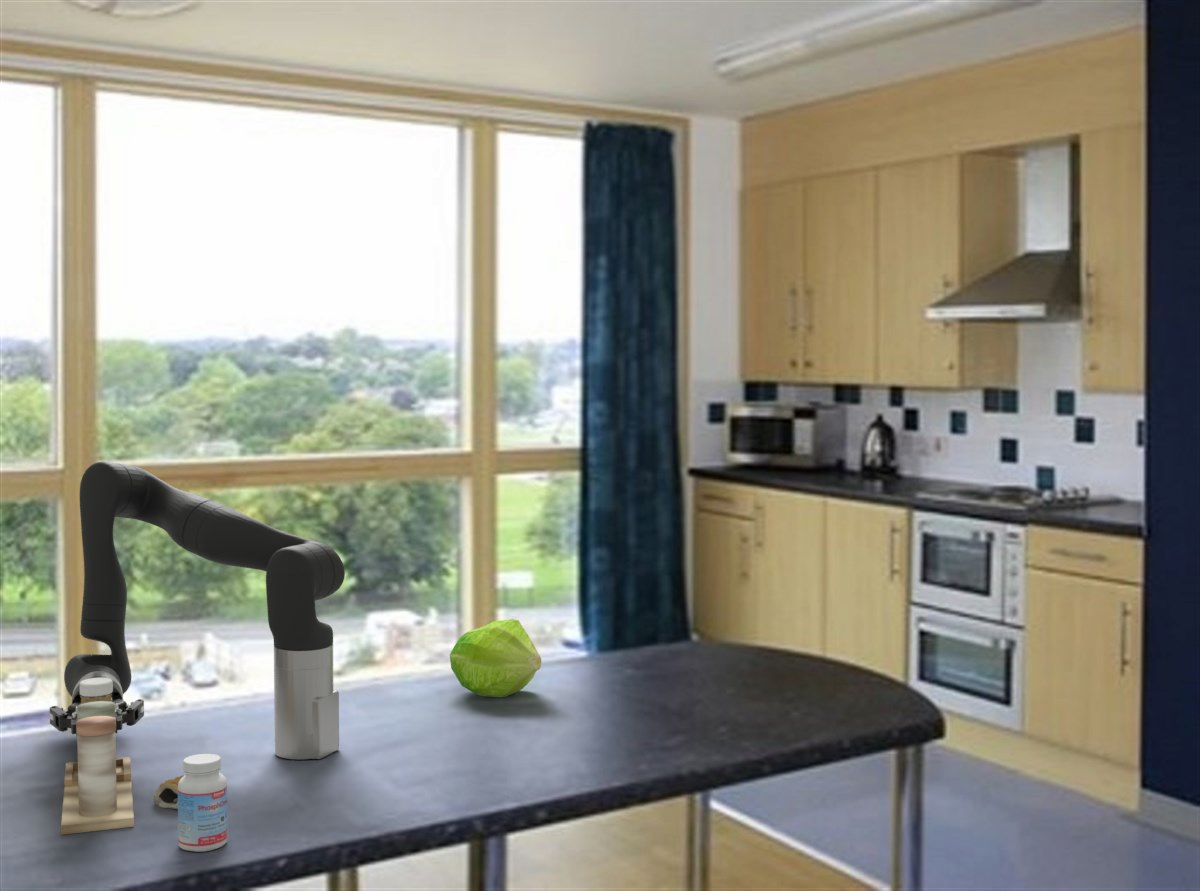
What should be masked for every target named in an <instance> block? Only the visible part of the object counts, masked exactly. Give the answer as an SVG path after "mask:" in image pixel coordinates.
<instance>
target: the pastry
mask: <svg viewBox="0 0 1200 891" xmlns="http://www.w3.org/2000/svg"><path fill="white" fill-rule="evenodd" d="M183 776H184V775H179V776H176V777H175V778H172V779H167V780H165V781H164V782H162V783H161V784H160V785H159V787H158V788H157V790H156V792H155V794H154V795H153V802H154V803H155V804H156V806H158V807H159V808H163V809H172V810H177V811H178V783H179V781H180V779H181V778H182V777H183Z"/></svg>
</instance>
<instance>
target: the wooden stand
mask: <svg viewBox="0 0 1200 891" xmlns="http://www.w3.org/2000/svg"><path fill="white" fill-rule="evenodd" d="M77 713H78V721H77V722H76V733H77V737H76V738H77V761H70V762H66V763H65V769H64V778H63V779H64V780H63V782H64V788H63V789H64V790H63V798H62V799H63V800H62V801H63V802H62V811H61V824H60V835H69V834H70V835H71V834H79V833H80V834H81V833H90V832H97V831H99V832H100V831H108V830H117V829H124V828H125V829H126V828H132V827H133V828H134V827H135V819H134V818H135V816H134V813H135V812H134V801H133V786H132V766H131V757H130V756H122V757H116V756H117V754H116V753H117V752H116V750H117V748H116V747H117V746H116V744H117V743H116V741H117V740H116V733H115V731H116V718H115V714H116V712H115V703H114V702H109V701H96V702H88V703H84V704H81V705H79V706H78V707H77Z"/></svg>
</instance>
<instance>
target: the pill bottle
mask: <svg viewBox="0 0 1200 891" xmlns="http://www.w3.org/2000/svg"><path fill="white" fill-rule="evenodd" d="M182 763H183V764H182V766H183V768H182V769H183V773H184V774H185V775H182V776H183V777H182V778H181V779H180V781H179V783H178V810H177V842H178V843H177V844H178V847H179V848H180V849H182V850H184V851H188V852H197V853H201V852H202V853H205V852H209V851H214V850H216V849H219V848H221V847H223V846H225V844H226V843H227V841H228V784H227V779H226V776H225V775H224V774H222V773H221V772H220V770H221V769H222V768H221V767H222V758H221V756H220V755H218V754H213V753H200V754H193V755H189V756H187V757H185V758H184V759H183V761H182Z"/></svg>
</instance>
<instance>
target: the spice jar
mask: <svg viewBox="0 0 1200 891" xmlns="http://www.w3.org/2000/svg"><path fill="white" fill-rule="evenodd" d="M112 692H113V681H112V680H111V679H109V678H90V679H85V680H83V681H81V682H80V695H81V696H80V697H81V704H84V703H88V702H96V701H109V702H112V697H111V696H112Z"/></svg>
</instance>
